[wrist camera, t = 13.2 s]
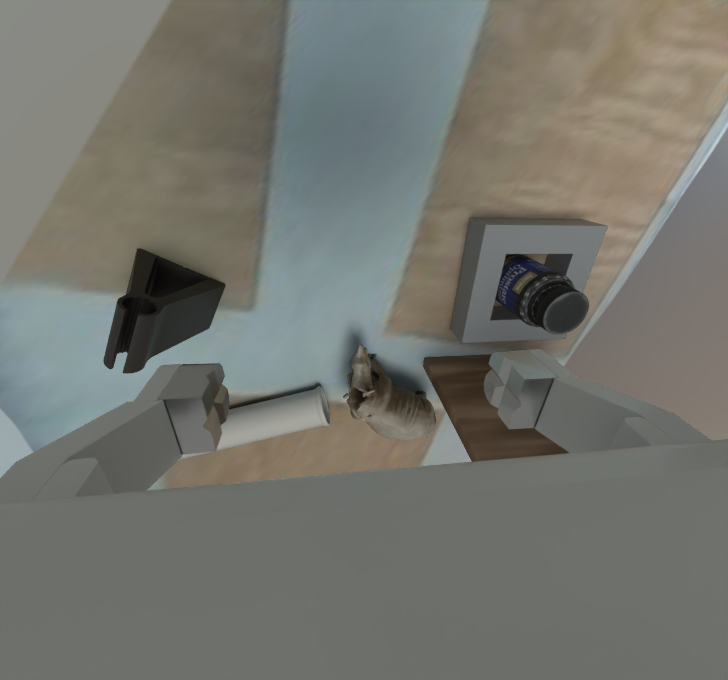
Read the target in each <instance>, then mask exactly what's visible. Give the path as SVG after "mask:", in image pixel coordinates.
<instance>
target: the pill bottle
mask: <svg viewBox="0 0 728 680" xmlns="http://www.w3.org/2000/svg"><path fill="white" fill-rule="evenodd" d="M495 299H496V300H497V301H498V302H499V303H501V304H502V305H503V306H504V307H506V308H507V309H508V310H509V311H511V312H512V313H513V314H514V315H516V316H517V317H518V318H519V319H520V320H522V321H523V322H524V323H526V324H527V325H529V326H533V327H541V328H543V329H544V330H546V331H547V332H549V333H551V334H564V333H567V332H570V331H571V330H573V329H575V328H576V327H577V326H578V325H579V324H580V323H581V322H582V321H583V320H584V318H585V317H586V314H587V312H588V308H589V302H588V299H587V297H586V296H585V295H584V294H583V293H581V292H579V291H578V290H576V289H575V287H574V285H573V283H572V281H571V280H570V279H569V278H568V277H567V276H565V275H563V274H561V273H559V272H557V271H555V270H553V269H551V268H549V267H547V266H544V265H542V264H540V263H538V262H536V261H534V260H532V259H530V258H528V257H526V256H524V255H520V254H511V255H508V256H506V257H505V261H504V265H503V269H502V273H501V277H500V281H499V285H498V290H497V294H496V298H495Z"/></svg>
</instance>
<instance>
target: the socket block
mask: <svg viewBox="0 0 728 680" xmlns="http://www.w3.org/2000/svg"><path fill="white" fill-rule="evenodd" d="M607 227H608V226H606V225H602V224H598V223H594V222H590V221H586V220H580V219H490V218H470V221H469V226H468V232H467V238H466V243H465V249H464V254H463V260H462V265H461V271H460V277H459V282H458V288H457V293H456V299H455V304H454V310H453V316H452V321H451V327H450V329H451V330H452V331H453V332H454V334H455V335H456V336H457V338H458V339H459V340H460V341H461V343H477V342H502V341H526V340H551V339H565V338H566V335H567V333H568V332H567V333H564V334H551V333H549V332H547V331H546V330H544V329H543V328H541V327H533V326H529V325H527V324H526V323H524V322H523V321H522V320H520V319H519V318H518V317H517V316H516V315H514V314H513V313H512V312H511V311H509V310H508V309H507V308H506V307H504V306H500V307H493V306H494V302H495V298H496V294H497V290H498V285H499V281H500V277H501V273H502V269H503V265H504V261H505V257H506V254H548V256H547V260H546V263H545V266H547V267H549V268H551V269H553V270H555V271H557V272H559V273H561V274H563V275H565V276H567V277H568V278H569V279H570V280H571V281H572V283H573V285H574V287H575V289H576V290H578V291H579V292H581V293H583V290H584V288H585V285H586V282H587V280H588V277H589V275H590V272H591V269H592V267H593V264H594V261H595V259H596V256H597V253H598V251H599V248H600V245H601V243H602V240H603V238H604V235H605V232H606V230H607Z"/></svg>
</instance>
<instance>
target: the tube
mask: <svg viewBox="0 0 728 680" xmlns="http://www.w3.org/2000/svg"><path fill="white" fill-rule="evenodd" d="M324 425H325V426H326V427H327V426H330V414H329V408H328V402H327V399H326V397H325V394H324V391H323V389H322V388H321V386H319V387H317V388H316V389H314V390H310V391H305V392H301V393H297V394H293V395H289V396H284V397H280V398H276V399H272V400H268V401H263V402H259V403H255V404H251V405H247V406H242V407H238V408H234V409H230V410H229V413H228V417H227V420H226V422H224V423H223V424H222V425H221V429H222V435H221V438H220V441H219V444H218V447H217V450H216V451H218V450H223V449H227V448H231V447H235V446H239V445H244V444H248V443H252V442H256V441H260V440H265V439H269V438H273V437H277V436H281V435H286V434H290V433H294V432H298V431H302V430H307V429H311V428H315V427H319V426H324ZM206 453H210V452H205V453H195V454H186V455H182V457H181V458H180V459H179V460H181V459H185V458H189V457H193V456H197V455H202V454H206Z"/></svg>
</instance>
